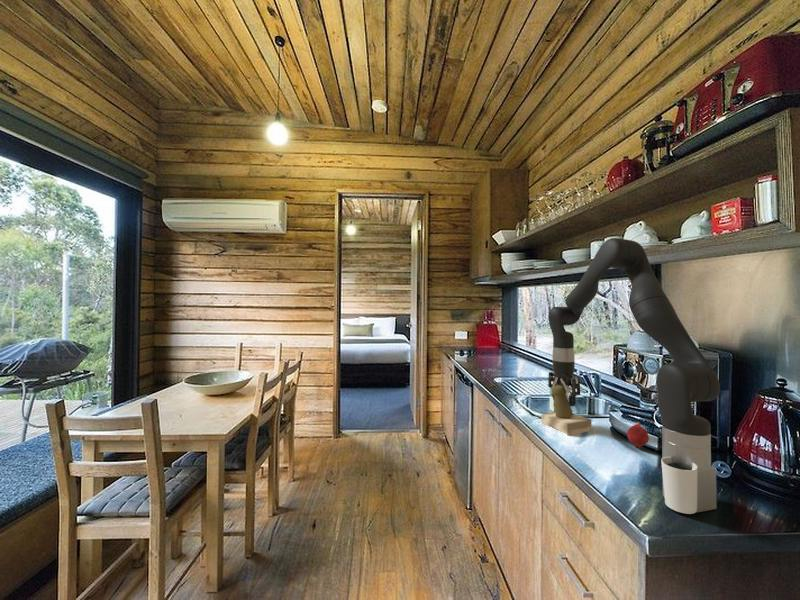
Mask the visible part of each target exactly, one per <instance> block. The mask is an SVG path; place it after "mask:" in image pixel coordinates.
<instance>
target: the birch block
mask: <svg viewBox="0 0 800 600" xmlns="http://www.w3.org/2000/svg"><path fill="white" fill-rule="evenodd" d="M540 415H541V416H540V417H541V418H540V421H541V423H542V424H541V425H543V424H544V426H546V425H547V426H546V427H548V426H549V427H548V428H550V427H552V428H554V429H556V430H555V431H557V430H558V431H557V432H559V431H560V432H559V433H561V432H563V433H565V434H567V435H566V436H572V434H573V435H577V434H582V433H587V432H592V419H590V418H587V417H584V416H581V415H579V414H575V413H573V415H572V416H571V417H565V418H560V417H556V412H546V413H541V414H540ZM552 428H551V429H552ZM554 429H553V430H554ZM563 433H562V434H563ZM565 434H564V435H565ZM570 434H571V435H570Z"/></svg>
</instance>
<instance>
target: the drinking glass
mask: <svg viewBox="0 0 800 600" xmlns="http://www.w3.org/2000/svg"><path fill="white" fill-rule="evenodd" d="M660 462H661V470H662V474H663V476H662V486H663V485H664V495H665V497H664V504H665V505H666V506H667V507H668V508H670V509H671V510H673V511H675V512H677V513H681V514H687V515H692V514H695V513H698V512H697V469H698V468H697V465H696V464H694V463H692V469H693V470H692V469H690V468H685V467H681V466H680V465H679V464H677V463H674V464H672V463H671V457H664V458H661V459H660ZM662 474H661V475H662Z"/></svg>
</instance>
